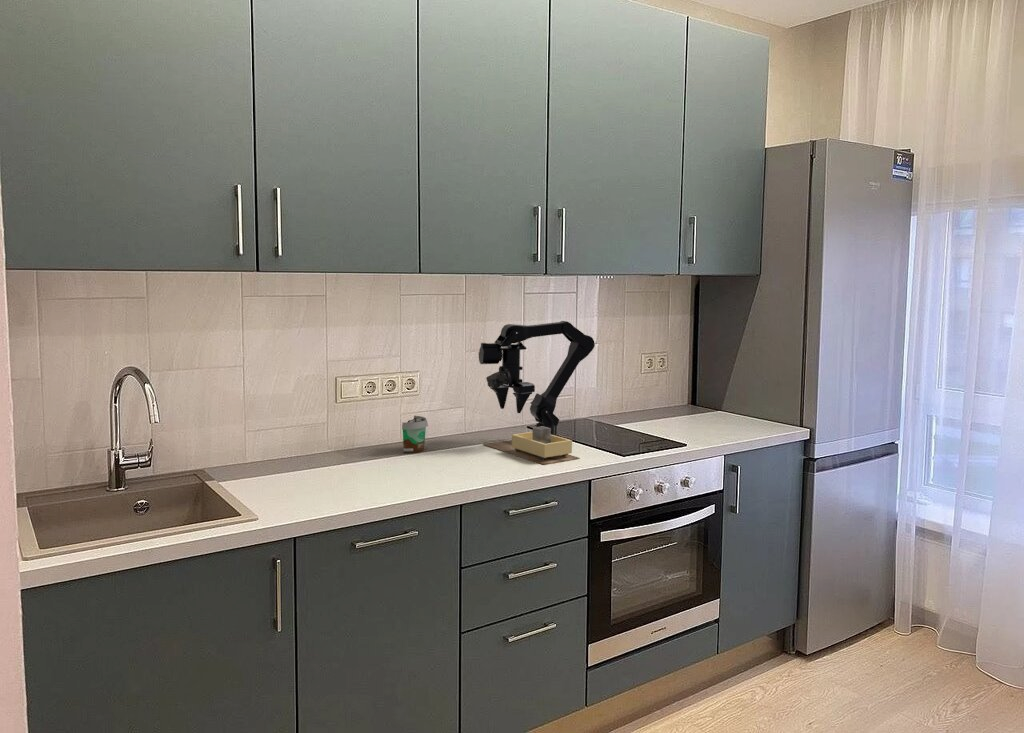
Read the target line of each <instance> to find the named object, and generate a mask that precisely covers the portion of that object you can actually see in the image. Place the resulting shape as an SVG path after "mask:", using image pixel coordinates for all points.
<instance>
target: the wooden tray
mask: <svg viewBox="0 0 1024 733" xmlns="http://www.w3.org/2000/svg"><path fill="white" fill-rule="evenodd" d="M532 437H533V431H527V432H521V433H514V434H511V440H512V447H513V448H515V450H516V452H520V451H525V452H528V453H531V454H534V455H538V456H539V459H540V460H542V459H546V457H552V456H558V455H562V456H567V455H568V454H569V455H571V454H572V452H573V440H572V439H568V438H566V437H562V436H558V435H556V436H555V435H551V443H547V444H544V443H541V442H538V441H534V440H532Z"/></svg>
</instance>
